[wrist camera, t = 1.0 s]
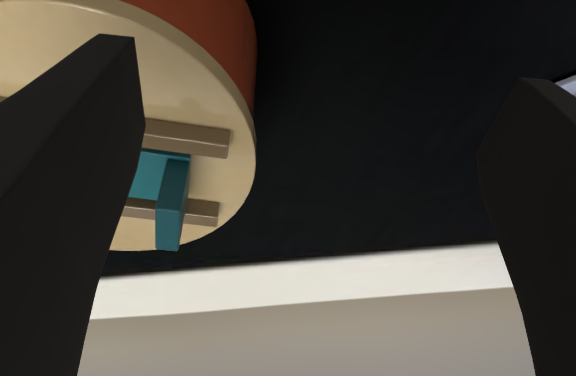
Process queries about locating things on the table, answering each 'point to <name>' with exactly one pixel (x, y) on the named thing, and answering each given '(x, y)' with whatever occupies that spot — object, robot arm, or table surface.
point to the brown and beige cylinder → (160, 90)
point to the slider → (164, 192)
